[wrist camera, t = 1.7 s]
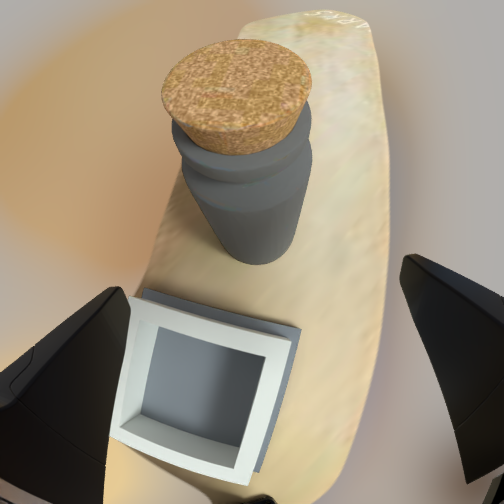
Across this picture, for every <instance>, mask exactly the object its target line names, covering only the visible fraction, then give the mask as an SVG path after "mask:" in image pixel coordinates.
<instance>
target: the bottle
mask: <svg viewBox="0 0 504 504" xmlns="http://www.w3.org/2000/svg"><path fill="white" fill-rule="evenodd" d="M311 85H312V79H311V74H310V71H309V68H308V67H307V65H306V64H305V62H304V61H303V60H302V59H301V58H300V57H299V56H298V55H297V54H295V53H294V52H292V51H291V50H289V49H287V48H285V47H283V46H281V45H278V44H275V43H271V42H267V41H262V40H254V39H236V40H229V41H223V42H218V43H214V44H211V45H208V46H205V47H203V48H201V49H199V50H196V51H194V52H193V53H191V54H189V55H188V56H186V57H185V58H183V59H182V60H181V61H180V62H178V63H177V64H176V65H175V66H174V67H173V68H172V69H171V71H170V72H169V74H168V75H167V77H166V79H165V81H164V83H163V87H162V91H161V93H162V102H163V105H164V107H165V109H166V111H167V112H168V113H169V115H170V116H171V117H172V118H173V119H172V134H173V139H174V142H175V144H176V146H177V148H178V150H179V152H180V154H181V156H182V171H183V175H184V178H185V181H186V183H187V185H188V187H189V189H190V191H191V193H192V195H193V196H194V198H195V200H196V202H197V203H198V205H199V207H200V208H201V210H202V212H203V214H204V215H205V217H206V219H207V220H208V222H209V224H210V225H211V227H212V229H213V230H214V232H215V234H216V235H217V237H218V238H219V240H220V242H221V243H222V245H223V246H224V248H225V249H226V250H227V252H228V253H229V254H230V255H231V256H233V257H234V258H235V259H237V260H239V261H241V262H243V263H246V264H251V265H261V264H267V263H270V262H272V261H275V260H276V259H278V258H279V257H280V256H282V255H283V254H284V253H285V252H286V251H287V249H288V248H289V246H290V244H291V242H292V240H293V237H294V234H295V231H296V227H297V224H298V220H299V216H300V212H301V208H302V205H303V201H304V197H305V193H306V189H307V185H308V181H309V176H310V171H311V165H312V150H311V145H310V142H309V139H308V138H309V134H310V128H311V110H310V107H309V104H308V102H307V98H308V96H309V93H310V90H311Z"/></svg>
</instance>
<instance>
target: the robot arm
mask: <svg viewBox="0 0 504 504" xmlns="http://www.w3.org/2000/svg"><path fill="white" fill-rule="evenodd" d="M400 285H401V287H402V290H403V293H404V295H405V298H406V301H407V303H408V307H409V309H410V312H411V315H412V318H413V321H414V323H415V326H416V328H417V330H418V332H419V335H420V337H421V339H422V342H423V344H424V346H425V349H426V351H427V354H428V356H429V359H430V361H431V364H432V366H433V369H434V372H435V374H436V377H437V380H438V382H439V385H440V388H441V391H442V394H443V396H444V399H445V403H446V406H447V409H448V412H449V415H450V419H451V422H452V425H453V429H454V430H455V431H454V433H455V437H456V440H457V444H458V448H459V452H460V457H461V461H462V465H463V470H464V475H465V480H466V483H467V484H469V483H471V482H473V481H475V480H477V479H479V478H481V477H483V476H485V475H486V474H488V473H490V472H492V471H493V470H495V469H497V468H498V467H500V466H502V465H503V464H504V297H502V296H500V295H499V294H497V293H495V292H493V291H491V290H489V289H487V288H485V287H484V286H482V285H480V284H478V283H476V282H474V281H472V280H470V279H468V278H466V277H464V276H462V275H460V274H458V273H456V272H454V271H452V270H450V269H448V268H446V267H444V266H442V265H440V264H438V263H435V262H433V261H431V260H429V259H427V258H425V257H423V256H420V255H418V254H409V255H405V256H404V258H403V262H402V267H401V272H400ZM130 315H131V307H130V304H129V302H128V300H127V298H126V296H125V294H124V291H123V289H122V288H121V287H119V286H117V287H109V288H107V289H106V290H104V291H103V292H102V293H100V294H99V295H98V296H96V297H95V298H94V299H92V300H91V301H90V302H88V303H87V304H86V305H84V306H83V307H82V308H81V309H79V310H78V311H77V312H75V313H74V314H73V315H72V316H70V317H69V318H67V319H66V320H65V321H64V322H62V323H61V324H60V325H59V326H57V327H56V328H55V329H54V330H52V331H51V332H50V333H49V334H47V335H46V336H45V337H44V338H43V339H41V340H40V341H39V342H38V343H36V344H35V346H33V347H31V348H30V349H29V350H28V351H27V352H26V353H24V355H22V356H21V357H19V358H18V359H17V360H16V361H14V362H13V363H12V364H11V365H9V366H8V367H7V368H6V369H4V370H3V371H2V372H0V504H103V494H104V480H105V468H106V467H105V465H106V458H107V449H108V442H109V435H110V428H111V421H112V415H113V409H114V404H115V398H116V393H117V388H118V383H119V378H120V373H121V369H122V364H123V360H124V355H125V350H126V343H127V336H128V329H129V322H130ZM267 501H270V503H267ZM242 504H277V503H276V501H275V500H274V499H273V498H271V497H265V498H262V499H258V500H255V501H251V502H248V503H242ZM483 504H504V472H502V473H501V474H499V475H498V476H497V477H495V478H494V479H493V480H492V483H491V485H490V488H489V490H488V492H487V495H486V497H485V499H484V501H483Z"/></svg>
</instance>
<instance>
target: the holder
mask: <svg viewBox="0 0 504 504" xmlns="http://www.w3.org/2000/svg"><path fill="white" fill-rule="evenodd" d="M128 302H129V304H130V307H131V315H130V322H129V329H128V336H127V343H126V350H125V355H124V360H123V364H122V369H121V373H120V378H119V383H118V388H117V393H116V398H115V404H114V409H113V415H112V421H111V428H110V435H109V436H110V437H112V438H114V439H116V440H118V441H120V442H122V443H124V444H126V445H128V446H130V447H132V448H134V449H137V450H139V451H141V452H143V453H146V454H148V455H150V456H153V457H155V458H157V459H160V460H162V461H165V462H168V463H170V464H173V465H176V466H178V467H181V468H184V469H187V470H190V471H193V472H196V473H199V474H203V475H206V476H210V477H213V478H217V479H220V480H224V481H228V482H232V483H237V484H241V485H246V486H248V484H249V481H250V478H251V476H252V473H253V472H258V473H259V471H260V468H261V466H262V463H263V460H264V457H265V454H266V451H267V448H268V445H269V442H270V439H271V436H272V433H273V430H274V427H275V424H276V420H277V417H278V414H279V411H280V407H281V404H282V401H283V397H284V394H285V390H286V387H287V383H288V380H289V376H290V372H291V369H292V365H293V361H294V357H295V354H296V350H297V346H298V342H299V338H300V334H301V330H302V329H298V328H294V327H289V326H285V325H280V324H276V323H272V322H267V321H263V320H259V319H255V318H251V317H247V316H243V315H239V314H235V313H231V312H227V311H223V310H220V309H216V308H212V307H209V306H205V305H201V304H198V303H194V302H191V301H187V300H184V299H181V298H177V297H174V296H170V295H167V294H164V293H161V292H157V291H154V290H151V289H148V288H144V290H143V294H142V298H137V297H132V296H129V298H128Z"/></svg>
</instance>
